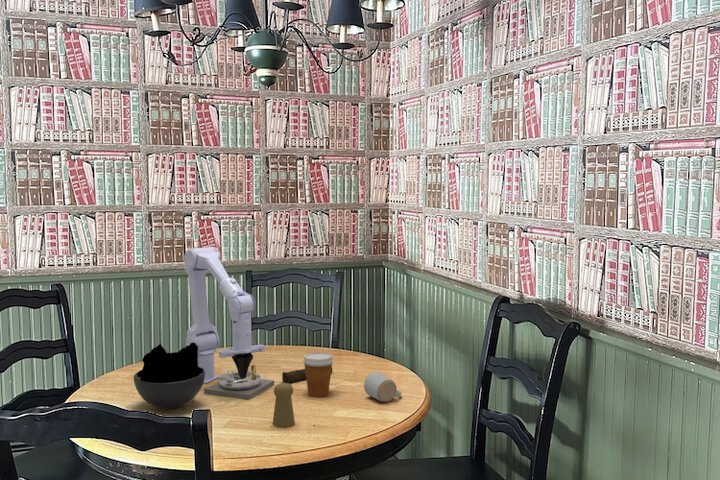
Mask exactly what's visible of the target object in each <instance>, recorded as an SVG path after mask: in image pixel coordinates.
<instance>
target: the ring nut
mask: <svg viewBox="0 0 720 480" xmlns="http://www.w3.org/2000/svg"><path fill="white" fill-rule="evenodd" d="M219 375H220V376H219V378H218V382H219V386H220V387H221V388H224V389H228V390H245V389H251V388H254V387H257V386H259V385H260V383H261V379H262V378H261V373H257V364H250V369H248V371H247V375H246V378H240V377H239V374H238V371H234V370H227V373H225V374H219Z"/></svg>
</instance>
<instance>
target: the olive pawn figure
mask: <svg viewBox="0 0 720 480" xmlns="http://www.w3.org/2000/svg"><path fill="white" fill-rule="evenodd" d="M273 387H274V388H273V393H274V396H275V402H274V410H273V419H272V426H273V427H276V428H279V429H281V428H284V429H286V428H290V427H292V426H295V424H296V422H295V421H296V420H295V413H294V407H293V401H292V400H293V399H292V395H293V394H294V387H293V386H292V383H284V382H282V383H277V384H275V385H274V386H273Z"/></svg>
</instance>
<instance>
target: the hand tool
mask: <svg viewBox="0 0 720 480" xmlns="http://www.w3.org/2000/svg"><path fill="white" fill-rule="evenodd" d="M332 373H333V367H332V368H331V374H332ZM281 375H282V378H281V379H282V383H288V384H292V383H293V382H296V381H297V382H298V381H300V380H306V372H305V368H302V369H297V370H292V371H286V372H285V371H283V372H282V373H281Z"/></svg>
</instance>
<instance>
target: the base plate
mask: <svg viewBox="0 0 720 480" xmlns="http://www.w3.org/2000/svg"><path fill="white" fill-rule="evenodd" d="M272 387H275V380H274V379H265V378H261V383H260V385H259V386H257V387H254V388H251V389H245V390H228V389H224V388H221V387H220V386H219V381H218V382H216V383H213V384H212V385H209V386H207V387H205V388H204V389H203V394H205V395H211V396H218V397H219V396H220V397H224V398H233V399H241V400H246V401H250V400H251V399H253V398H254V397H256V396H258V395H259V394H261V393H264V392H265V391H267V390H269V389H270V388H272Z"/></svg>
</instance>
